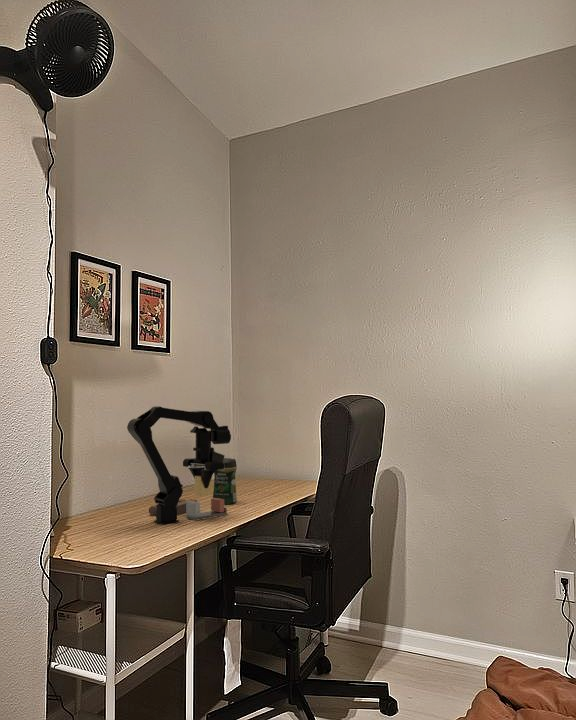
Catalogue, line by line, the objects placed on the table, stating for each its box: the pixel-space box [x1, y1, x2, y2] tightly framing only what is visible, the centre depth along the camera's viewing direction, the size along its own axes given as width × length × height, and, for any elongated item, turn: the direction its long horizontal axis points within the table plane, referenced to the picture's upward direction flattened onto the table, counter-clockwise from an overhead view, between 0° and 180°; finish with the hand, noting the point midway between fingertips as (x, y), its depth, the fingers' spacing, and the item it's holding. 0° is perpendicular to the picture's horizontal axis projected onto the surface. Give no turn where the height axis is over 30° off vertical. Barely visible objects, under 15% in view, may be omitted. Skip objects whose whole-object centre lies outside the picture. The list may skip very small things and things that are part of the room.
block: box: [194, 475, 213, 497], centre depth 222 cm, size 5×4×7 cm
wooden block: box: [148, 498, 198, 516], centre depth 231 cm, size 4×11×18 cm
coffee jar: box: [212, 457, 238, 505], centre depth 251 cm, size 10×8×19 cm
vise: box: [185, 501, 228, 521], centre depth 222 cm, size 14×6×6 cm, turn 133°
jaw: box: [210, 497, 225, 512], centre depth 226 cm, size 2×6×4 cm, turn 43°
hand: (203, 487), depth 222 cm, fingers closed on block, 4 cm apart
